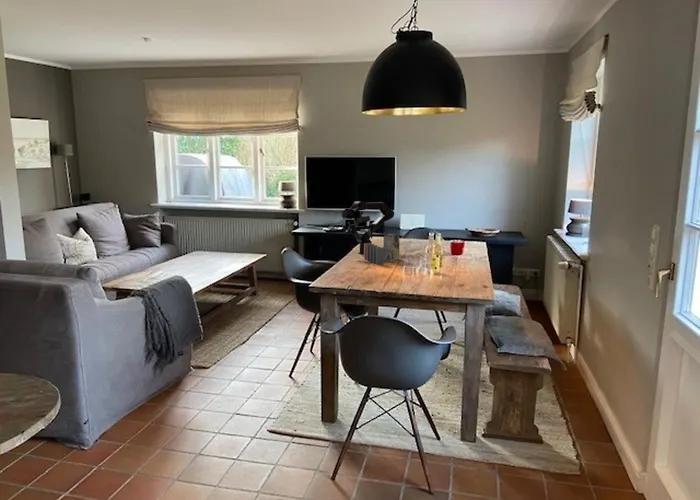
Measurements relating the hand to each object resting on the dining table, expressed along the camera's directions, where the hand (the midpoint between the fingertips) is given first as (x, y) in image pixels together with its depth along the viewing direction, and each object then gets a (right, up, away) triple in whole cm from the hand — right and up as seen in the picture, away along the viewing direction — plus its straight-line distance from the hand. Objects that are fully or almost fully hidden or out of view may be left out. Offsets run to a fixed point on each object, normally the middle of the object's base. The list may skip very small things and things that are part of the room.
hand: (365, 238), depth 344 cm
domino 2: (+5, -14, -10) cm, 18 cm away
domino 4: (+8, -16, -19) cm, 26 cm away
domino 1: (+3, -14, -6) cm, 15 cm away
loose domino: (+1, -13, -2) cm, 13 cm away
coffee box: (+16, -14, -5) cm, 22 cm away
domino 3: (+6, -15, -14) cm, 22 cm away
